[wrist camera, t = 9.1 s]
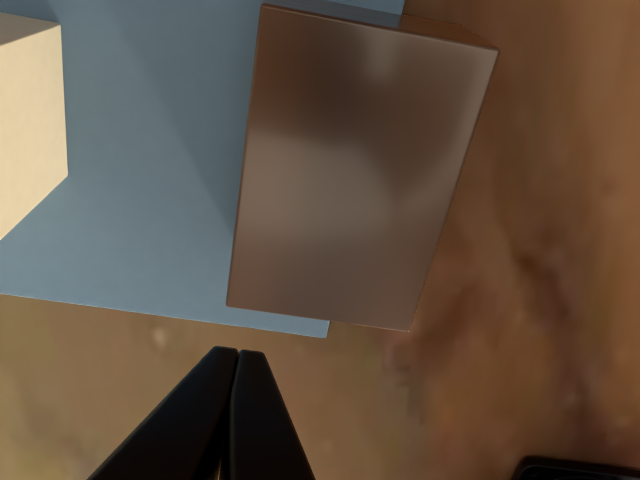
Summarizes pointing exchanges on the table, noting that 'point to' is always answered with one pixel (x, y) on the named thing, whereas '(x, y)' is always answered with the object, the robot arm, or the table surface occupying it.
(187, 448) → the robot arm
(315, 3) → the walnut block
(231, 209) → the placemat
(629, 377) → the table surface
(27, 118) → the salt mill
